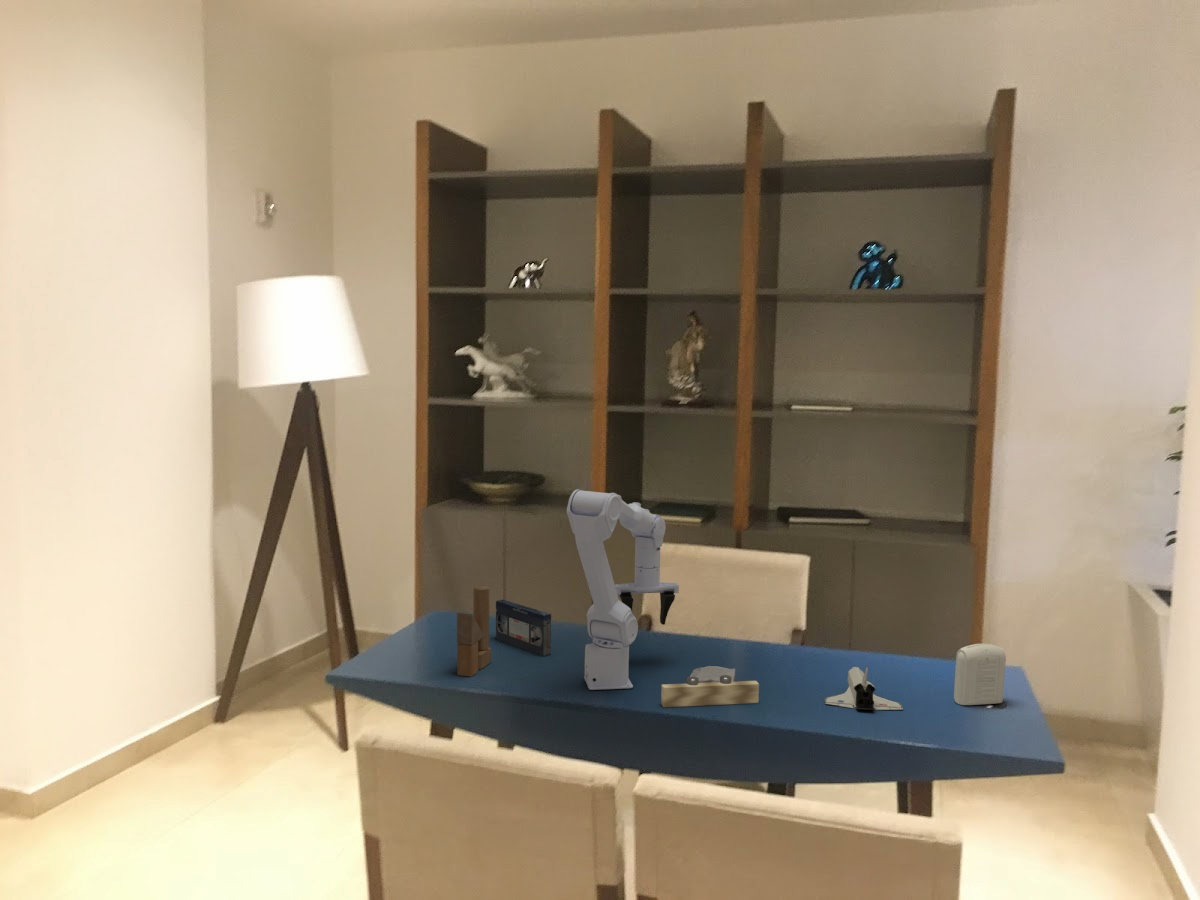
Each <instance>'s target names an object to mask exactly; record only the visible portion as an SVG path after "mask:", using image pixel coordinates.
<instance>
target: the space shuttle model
mask: <svg viewBox="0 0 1200 900" xmlns="http://www.w3.org/2000/svg"><path fill="white" fill-rule="evenodd" d="M868 672H869V667H868V665H866V667H865V671H863V670H861V669H860V667H858V666H852V668H851V669H849V670H848V672H847V683H848V688H847V690H846V691H844V692H843V693H839V694H836V695H832V696H827V697H825V698H824V704H825V705H830V706H835V707H843V708H849V709H855V710H868V711H871V710H872V711H888V710H890V711H891V710H894V711H897V710H898V711H899V710H904V707H903V705H902V704H901V703H900V702H897V701H894V700H890V699H888V698H885V697H882V696H879V695H876V694H874V693H875V691H876V687H875V686H874V684H873V683H871V682H870V681H868V674H869V673H868Z"/></svg>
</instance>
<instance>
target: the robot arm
mask: <svg viewBox="0 0 1200 900" xmlns="http://www.w3.org/2000/svg"><path fill="white" fill-rule="evenodd" d="M567 502H568V503H567V507H566V515H567V517H568V522H569V525H570V528H571V531H572V534H573V535H574V538H575V544H576V549H577V552H578V556H579V559H580V562H581V566H582V568H583V572H584V576H585V580H586V583H587V586H588V588H589V593H590V595H591V600H592V605H591V606H590V607H589V609H588V611H587V613H586V619H587V620H586V621H587V624H586V625H587V627H586V628H587V634H588V635H589V636H588V637H590V638H591V639H592V643H587V644H585V648H584V677H583V678H584V679H583V680H584V681H585V682H586V685H587V686H586V687H587V688H588V690H591V691H594V690H596V691H597V690H618V689H619V690H623V689H632V688H633V687H634V685H633V684H632V682H631V680H630V678H629V671H630V670H629V667H630V666H629V665H630V664H629V661H630V645H631V644H633V643H634V642H635V640H636V638H637V635H638V632H639V623H638V620H637V618H636V616H635V615H634V614H633V605H634V598H633V595H632V594H659V598H660V599H659V600H660V601H659V602H660V613H659V622H660V624H661V625H662V626H663V625H666V620H667V617H668V615H669V610H670V608H671V606H672V605H673V603H674V601H675V598H676V594H679V593H680V592H679V591H680V589H679V588H680V585H679V584H678V583H677V582H661V581H660V579H661V577H660V576H661V574H660V573H661V568H660V567H661V547H663V543H664V536H665V534H666V528H667V526H666V522H665V519H664V518H663V517H662V516H661V515H660V514H654V513H651V512H650V510H649V509H647V508H643V507H641V506H642V504H641V503H640V502H632V503H627V502H626V501H624V500H623V498H622V496H621V495H620V494H617V493H616V492H609V493H608V492H599V491H590V490H582V489H579V488H578V489H574V491H573V492H572V493H571V495H570V496H569V499H568V501H567ZM618 521H619V523H620V525H621V526H622V528H624V529H626V530H628V531H630V533H631V536H632V538H635V550H634V555H635V556H634V582H629V583H620V584H619V583H618V584H616V583H615V581H614V577H613V574H612V569H611V566H610V563H609V559H608V554H607V553H606V549H605V544H604V542H605V541H607V540H608V539H610V538H611V537H612V534H613V532H614V530H615V528H616V525H617V523H618ZM619 598H620V599H619Z"/></svg>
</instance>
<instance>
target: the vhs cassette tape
mask: <svg viewBox="0 0 1200 900" xmlns="http://www.w3.org/2000/svg"><path fill="white" fill-rule="evenodd" d="M495 609H496V610H495V639H496V640H497V641H499V642H502V643H505V644H507V645H510V646H513V647H516V648H518V649H521V650H524V651H525V652H529V653H532V654H534V655H537V656H540V657H547V656H551V655H552V646H551V645H552V614H551V613H548V612H545V611H542V610H538V609H536V608H532V607H529V606H525V605H523V604H519V603H517V602H512V601H509V600H505V599H499V600H496V601H495Z"/></svg>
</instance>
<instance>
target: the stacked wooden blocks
mask: <svg viewBox="0 0 1200 900" xmlns="http://www.w3.org/2000/svg"><path fill="white" fill-rule="evenodd" d="M472 603H473V606H472V607H473V608H472V609H473V614H472V613H465V612H457V613H456V615H457V616H456V624H457V625H456V644H457V654H456V655H457V656H456V657H457V659H456V660H457V662H456V663H457V665H456V667H457V672H456V673H457V676H460V677H462V676H463V677H474V676H475V674H478V672H479V670H482V669H484V668H485V667H486V666H488V665H489V664H490V663H491V662H492V648H491V646H490V587H489V586H488V585H476V586H474V587H473V602H472Z"/></svg>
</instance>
